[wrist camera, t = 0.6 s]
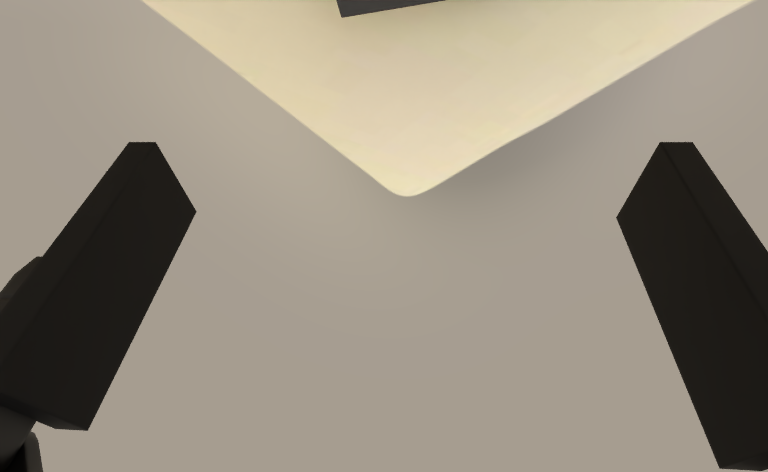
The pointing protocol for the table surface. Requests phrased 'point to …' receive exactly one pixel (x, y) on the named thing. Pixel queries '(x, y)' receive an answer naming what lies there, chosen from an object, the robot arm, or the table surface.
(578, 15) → the table surface
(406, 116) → the table surface
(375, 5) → the button housing
